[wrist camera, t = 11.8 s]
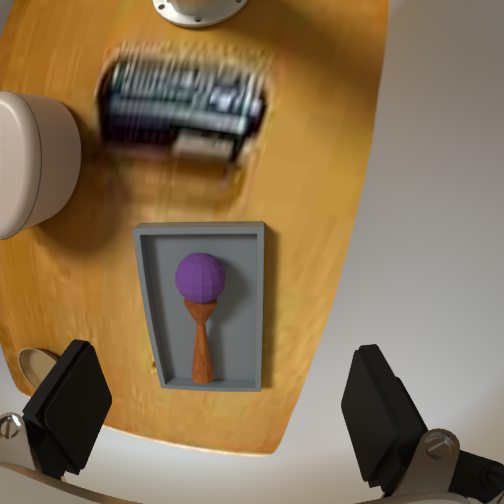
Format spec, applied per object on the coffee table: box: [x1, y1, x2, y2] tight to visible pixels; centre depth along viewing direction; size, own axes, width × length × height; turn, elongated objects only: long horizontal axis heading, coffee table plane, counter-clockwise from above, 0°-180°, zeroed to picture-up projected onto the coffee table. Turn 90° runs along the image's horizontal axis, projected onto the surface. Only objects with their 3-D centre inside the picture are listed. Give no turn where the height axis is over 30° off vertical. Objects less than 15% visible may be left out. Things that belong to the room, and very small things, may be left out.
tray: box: [133, 222, 264, 392], centre depth 40 cm, size 26×16×3 cm, turn 0°
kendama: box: [175, 253, 225, 385], centre depth 38 cm, size 6×6×20 cm
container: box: [0, 91, 81, 240], centre depth 28 cm, size 18×18×12 cm
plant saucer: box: [18, 348, 58, 390], centre depth 45 cm, size 15×15×3 cm
